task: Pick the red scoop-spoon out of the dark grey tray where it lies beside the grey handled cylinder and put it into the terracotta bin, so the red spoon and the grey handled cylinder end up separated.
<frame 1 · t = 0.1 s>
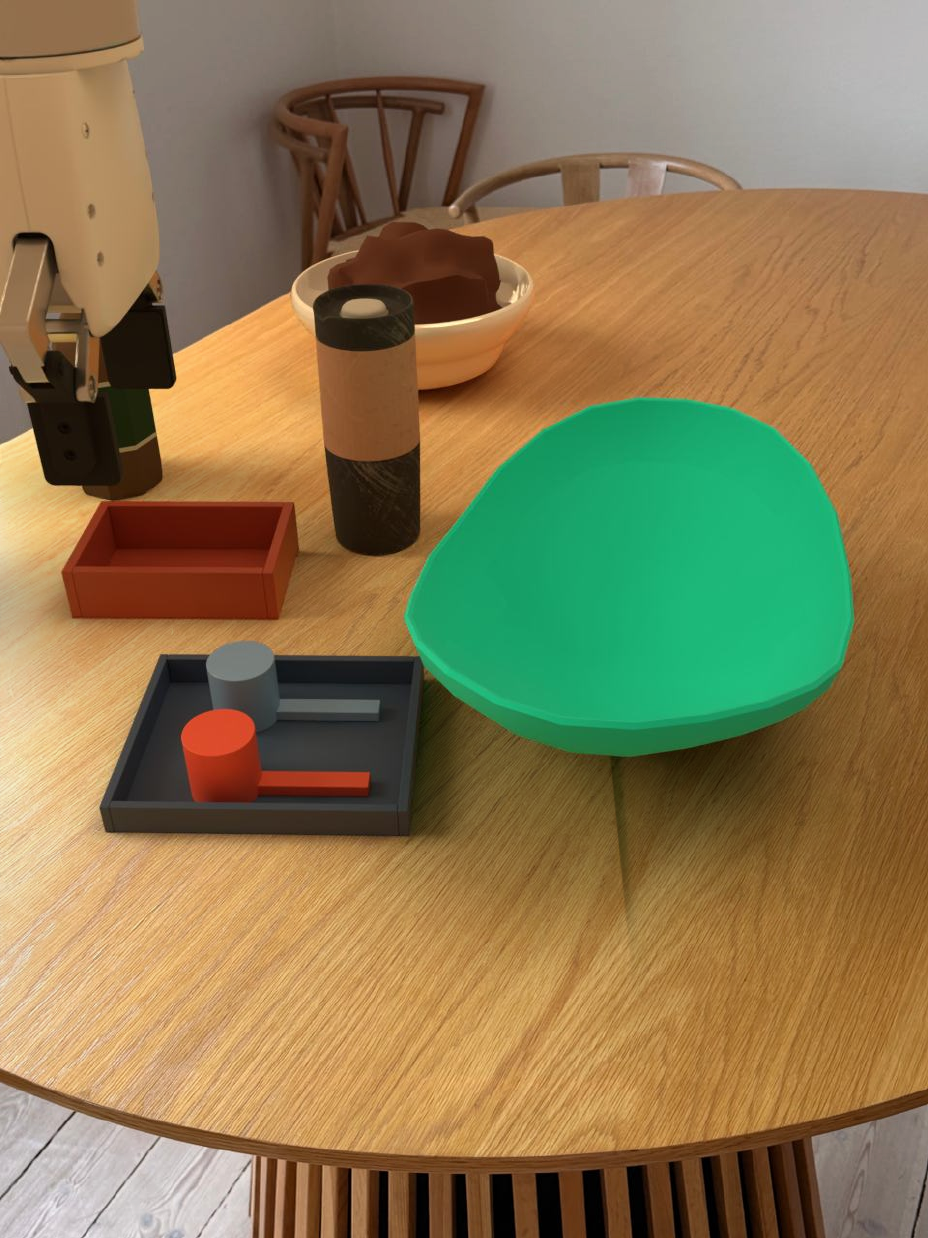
hand: (116, 431, 55), 28 cm above the table, tool pointing down, fingers open, 9 cm apart
beer bottle: (122, 482, 110), on the table
red bin: (191, 584, 95), on the table
grey handled cylinder: (248, 713, 81), resting on dark grey tray
red spoon: (227, 787, 75), resting on dark grey tray
travel mug: (378, 535, 101), on the table
dark grey tray: (277, 754, 79), on the table
bowl of brown chunks: (416, 371, 129), on the table
table top decor: (623, 695, 83), on the table
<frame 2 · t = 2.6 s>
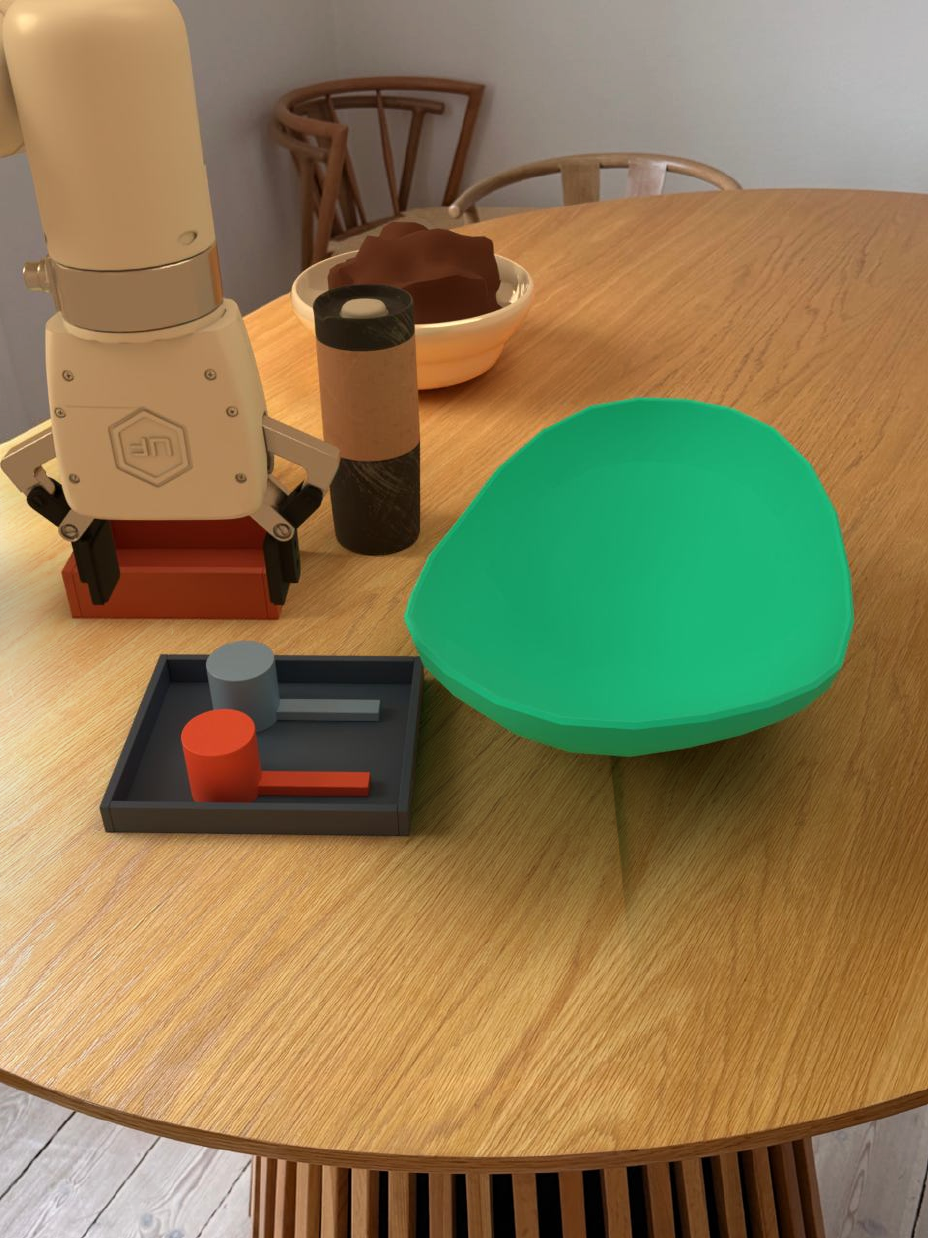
hand: (194, 591, 66), 15 cm above the table, tool pointing down, fingers open, 9 cm apart
nothing on the table moved.
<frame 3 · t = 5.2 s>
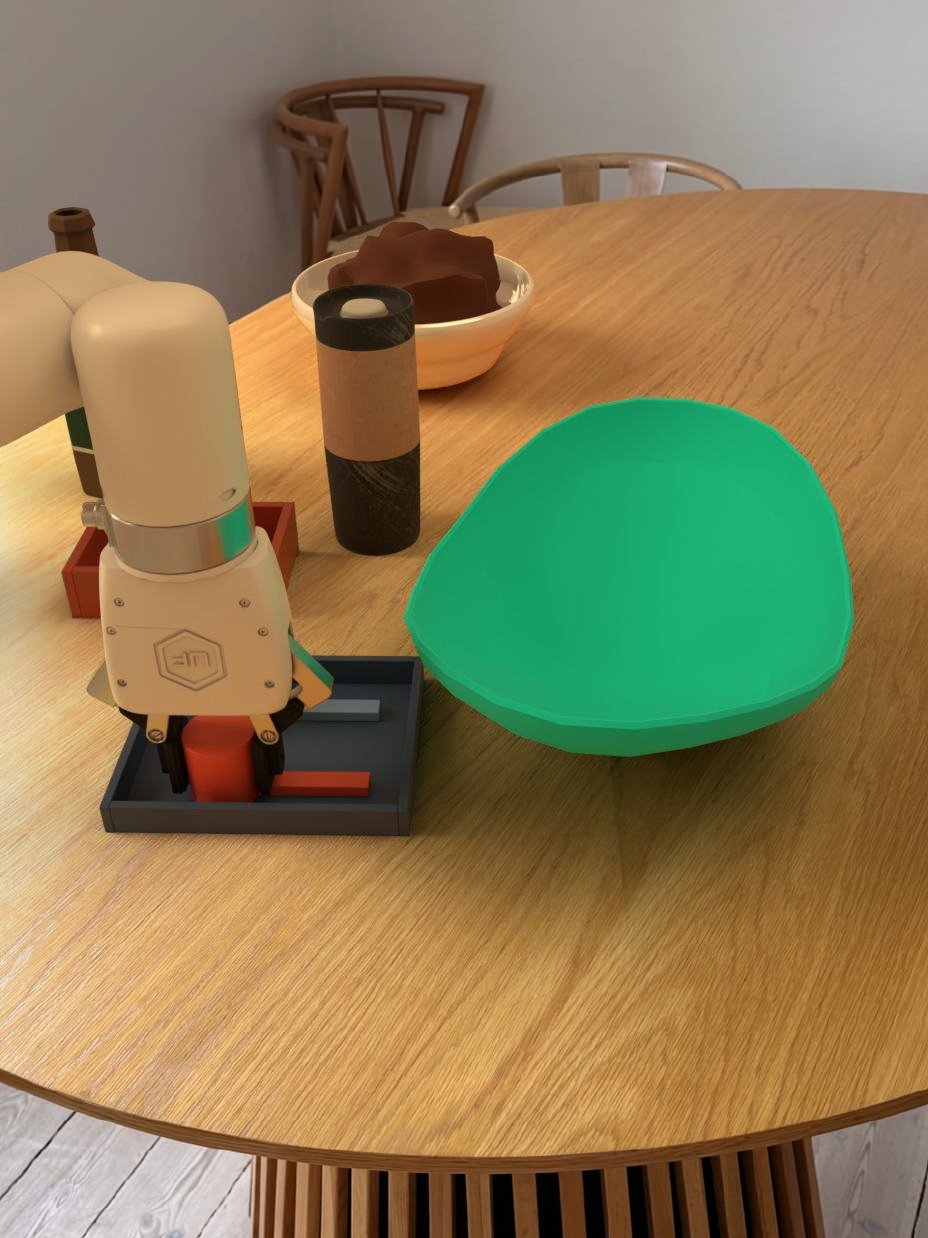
hand: (226, 776, 75), 1 cm above the table, tool pointing down, fingers closed on red spoon, 4 cm apart
red spoon: (227, 787, 75), resting on dark grey tray, touching gripper
everything else where it was.
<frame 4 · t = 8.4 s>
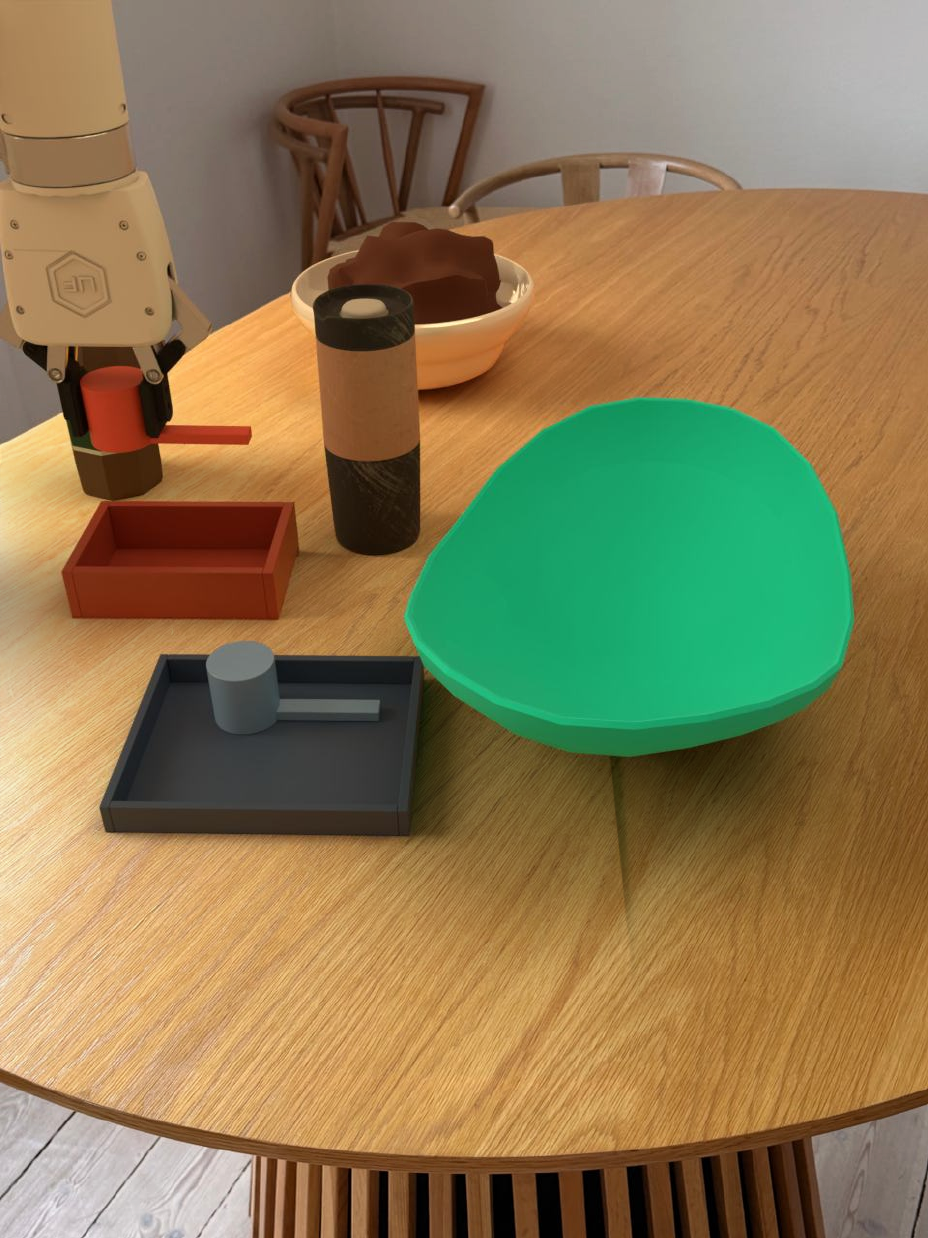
hand: (121, 426, 84), 15 cm above the table, tool pointing down, fingers closed on red spoon, 4 cm apart
red spoon: (124, 438, 85), point 14 cm above the table, touching gripper
everything else where it was.
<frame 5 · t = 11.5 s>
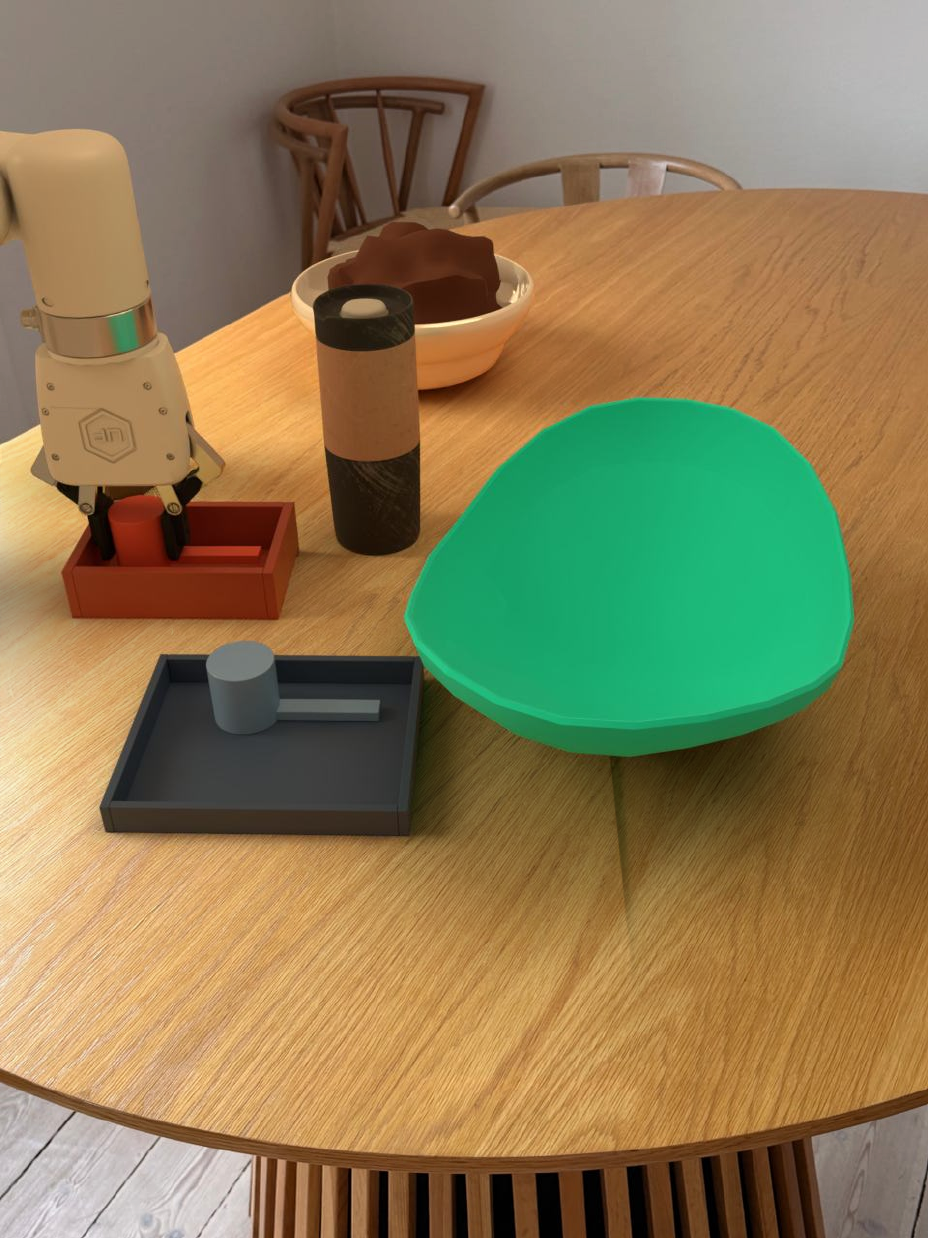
hand: (144, 549, 94), 3 cm above the table, tool pointing down, fingers closed on red spoon, 4 cm apart
red spoon: (147, 559, 94), point 2 cm above the table, touching gripper
everything else where it was.
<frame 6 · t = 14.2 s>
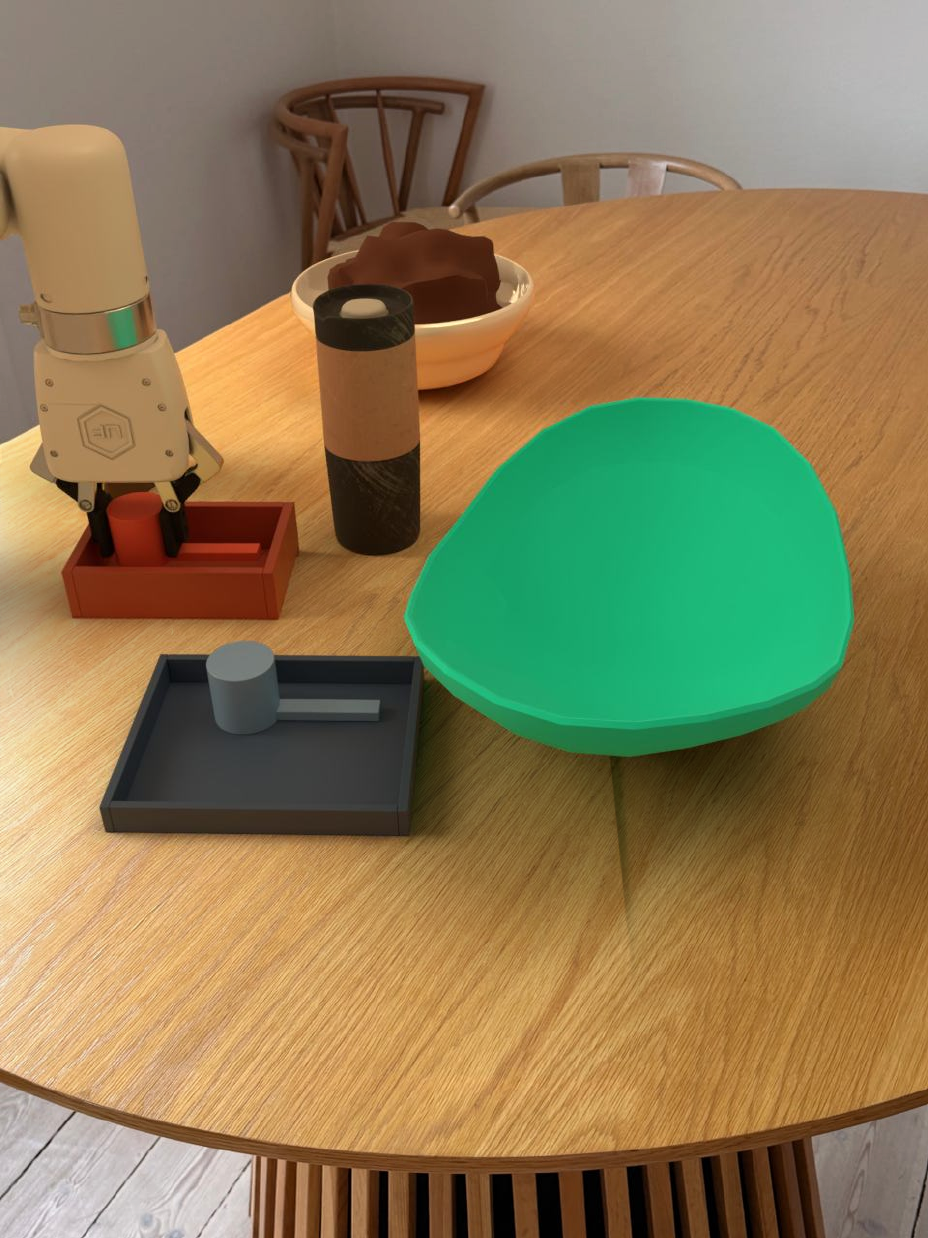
hand: (143, 546, 93), 3 cm above the table, tool pointing down, fingers closed on red spoon, 4 cm apart
red spoon: (145, 556, 94), point 2 cm above the table, touching gripper
everything else where it was.
when the fingers open (4 cm above the table, at t = 16.7 s): red spoon drops 2 cm, resting on red bin.
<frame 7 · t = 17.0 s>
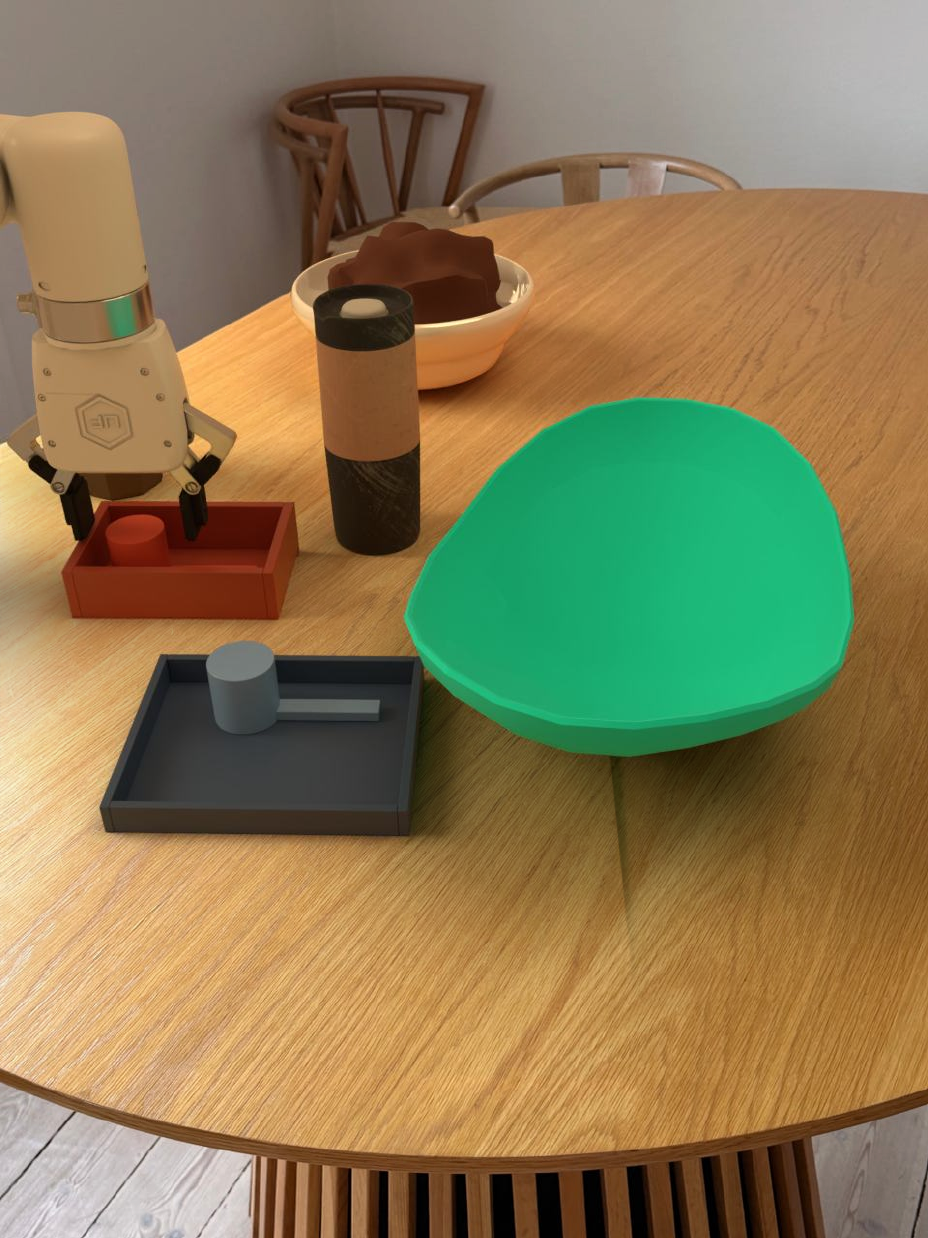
hand: (140, 530, 93), 5 cm above the table, tool pointing down, fingers open, 7 cm apart
red spoon: (144, 578, 95), point 1 cm above the table, touching red bin
everything else where it was.
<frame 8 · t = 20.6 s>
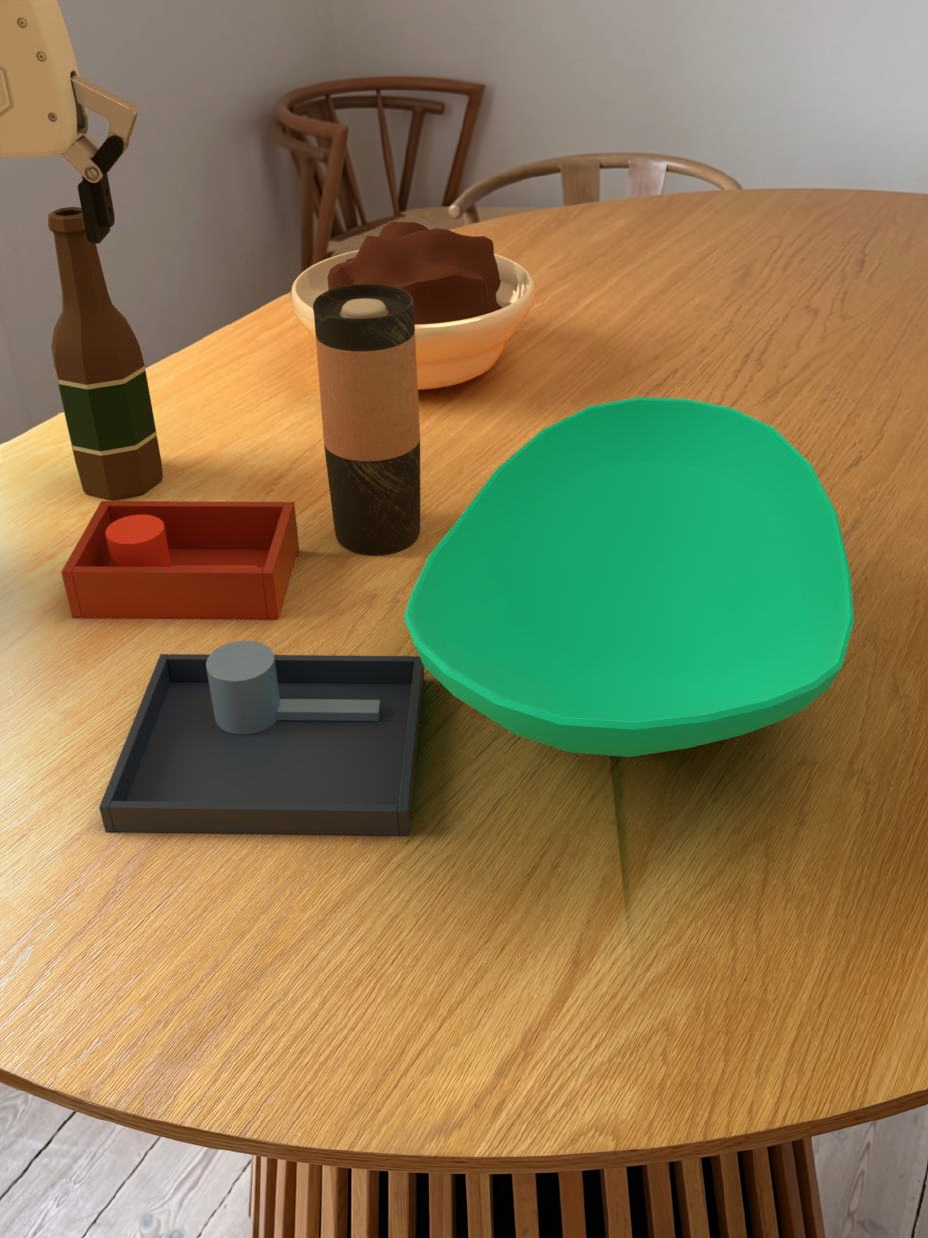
hand: (30, 237, 83), 26 cm above the table, tool pointing down, fingers open, 9 cm apart
nothing on the table moved.
at the end: red spoon inside the target area in the red bin (3.6 cm from its centre), point 0.5 cm above the red bin's base; grey handled cylinder inside the target area in the dark grey tray (4.4 cm from its centre), point 0.4 cm above the dark grey tray's base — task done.
